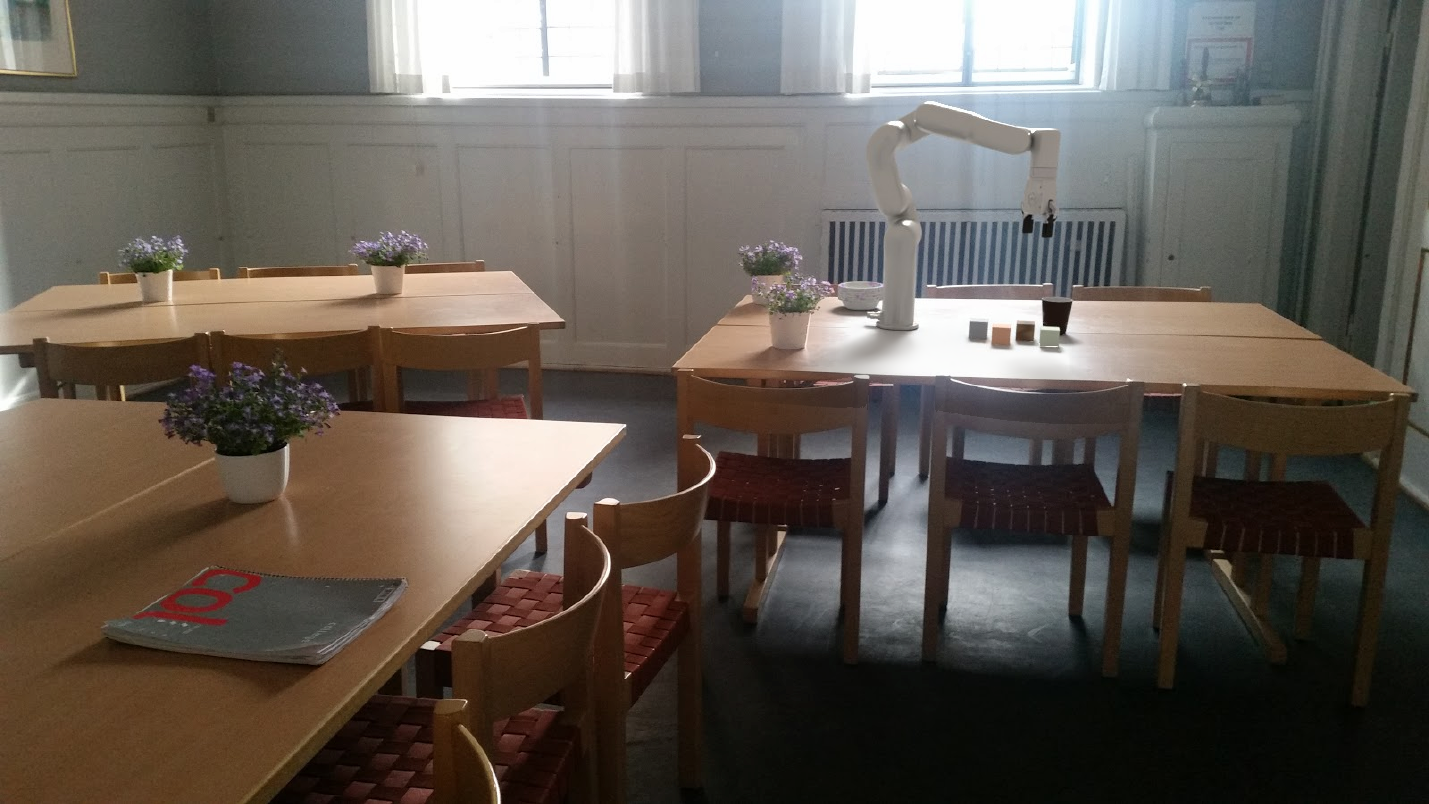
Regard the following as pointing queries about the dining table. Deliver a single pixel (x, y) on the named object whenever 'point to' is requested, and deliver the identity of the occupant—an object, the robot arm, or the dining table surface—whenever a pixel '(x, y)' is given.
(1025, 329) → the walnut cube
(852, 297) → the white floral bowl
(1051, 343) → the sage cube
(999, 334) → the terracotta cube
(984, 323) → the slate cube
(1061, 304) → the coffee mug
